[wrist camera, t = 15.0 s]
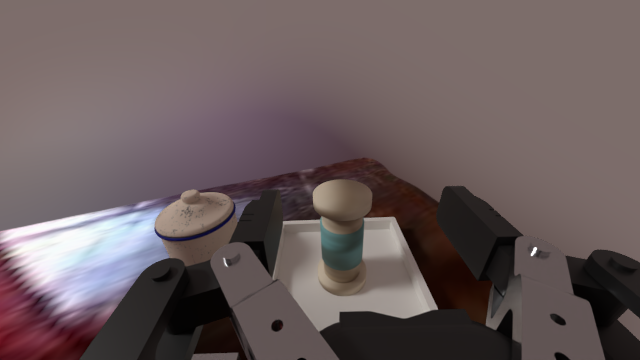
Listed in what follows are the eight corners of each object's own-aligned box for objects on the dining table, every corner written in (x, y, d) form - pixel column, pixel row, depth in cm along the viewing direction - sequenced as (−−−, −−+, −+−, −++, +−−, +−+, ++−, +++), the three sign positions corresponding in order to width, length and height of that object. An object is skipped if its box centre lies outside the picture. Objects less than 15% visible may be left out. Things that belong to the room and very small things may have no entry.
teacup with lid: (260, 253, 34) (245, 184, 29) (206, 304, 28) (173, 226, 22) (208, 228, 40) (187, 166, 35) (152, 265, 33) (116, 195, 28)
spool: (318, 297, 27) (312, 211, 21) (318, 257, 32) (313, 180, 27) (370, 295, 27) (378, 209, 21) (361, 255, 32) (366, 178, 27)
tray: (255, 361, 22) (251, 346, 21) (281, 233, 38) (279, 221, 37) (446, 355, 22) (452, 340, 21) (392, 229, 38) (394, 217, 37)
